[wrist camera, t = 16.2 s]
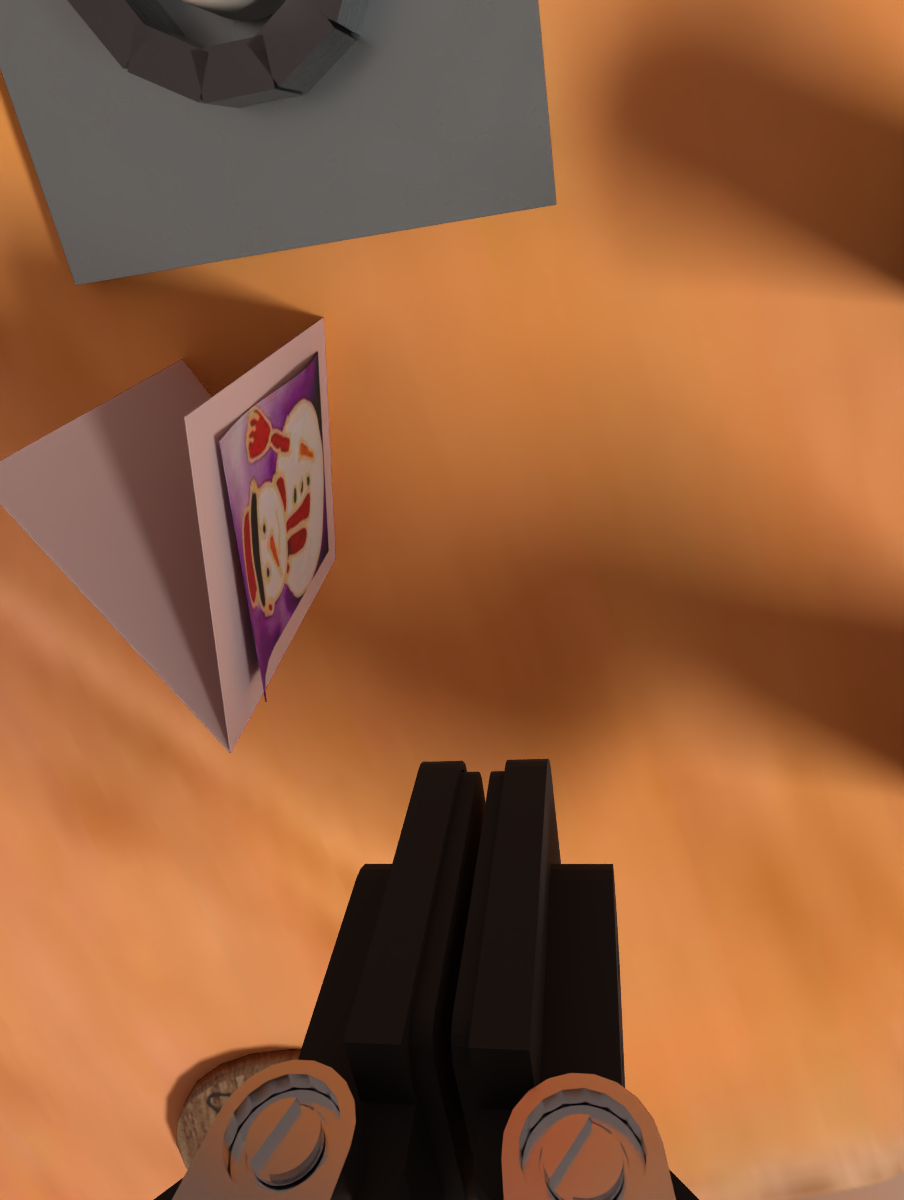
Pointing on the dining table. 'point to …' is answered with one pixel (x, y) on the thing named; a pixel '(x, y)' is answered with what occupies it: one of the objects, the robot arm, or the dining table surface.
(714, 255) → the dining table surface
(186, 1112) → the trivet
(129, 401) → the greeting card
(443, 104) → the square plate with ring
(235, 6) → the round-ended cylinder
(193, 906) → the dining table surface
